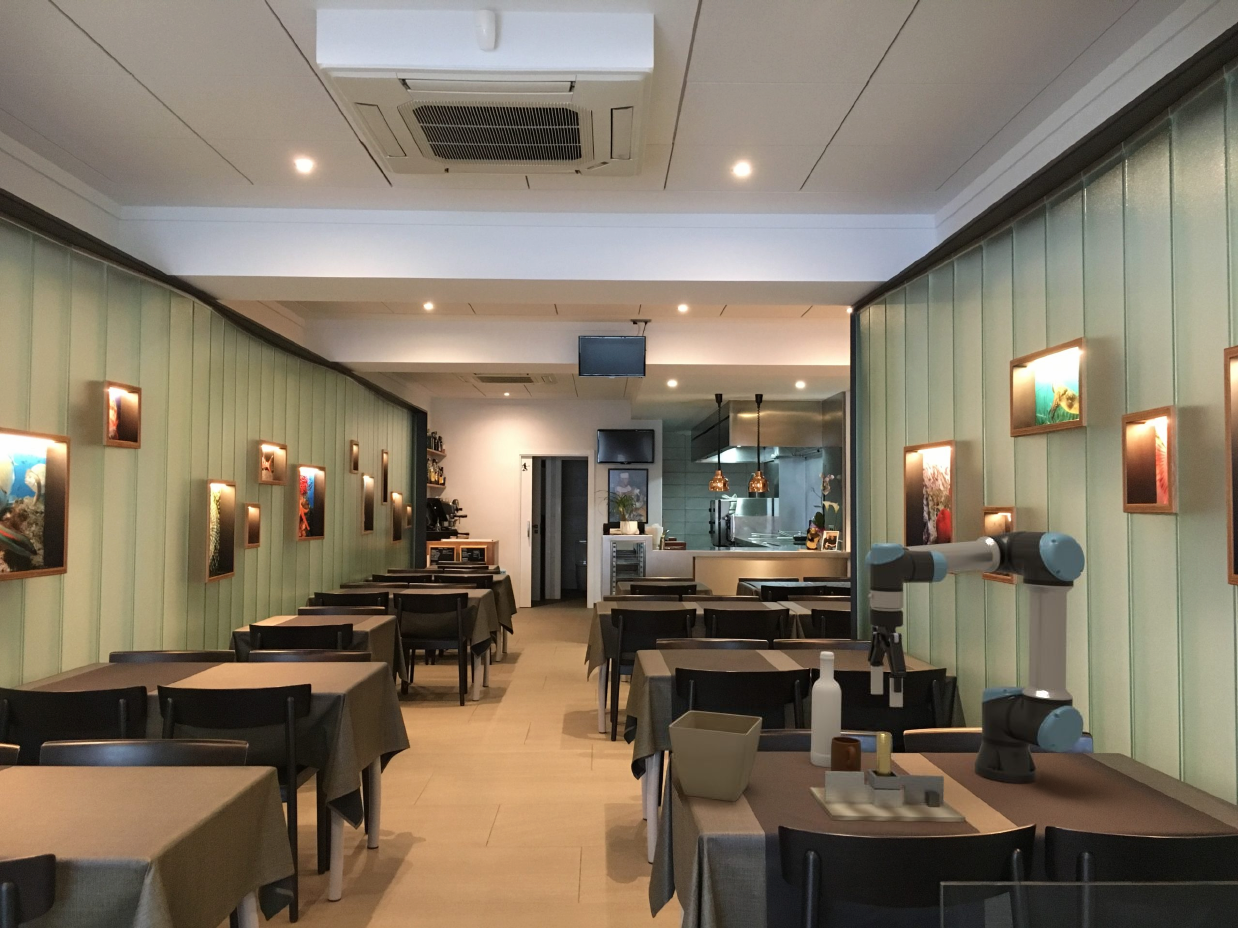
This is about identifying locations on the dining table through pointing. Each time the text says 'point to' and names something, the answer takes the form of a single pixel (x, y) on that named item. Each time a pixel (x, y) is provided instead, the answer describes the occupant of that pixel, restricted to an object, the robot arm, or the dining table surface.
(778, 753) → the dining table surface
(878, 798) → the hinge base
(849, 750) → the mug
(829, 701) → the bottle
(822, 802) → the board
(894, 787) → the square frame with bar
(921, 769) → the dining table surface
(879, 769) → the pin
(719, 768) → the flower pot
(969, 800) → the dining table surface
